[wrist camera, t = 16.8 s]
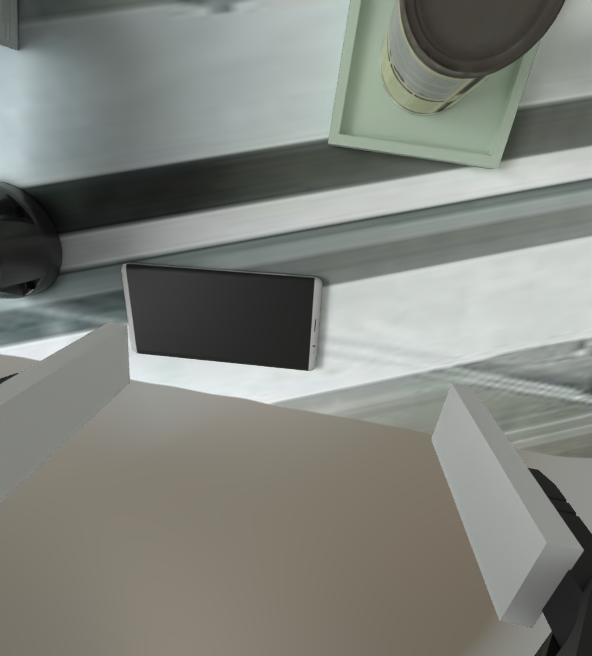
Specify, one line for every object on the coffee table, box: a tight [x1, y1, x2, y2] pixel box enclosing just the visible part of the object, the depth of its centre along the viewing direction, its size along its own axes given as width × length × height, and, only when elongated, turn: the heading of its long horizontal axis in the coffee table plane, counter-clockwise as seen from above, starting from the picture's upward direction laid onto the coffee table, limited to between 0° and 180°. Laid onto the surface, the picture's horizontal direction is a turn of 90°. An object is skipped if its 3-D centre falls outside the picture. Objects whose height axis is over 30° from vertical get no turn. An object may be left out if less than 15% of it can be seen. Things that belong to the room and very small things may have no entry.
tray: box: [328, 0, 540, 169], centre depth 34 cm, size 18×18×2 cm
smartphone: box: [121, 263, 322, 371], centre depth 48 cm, size 13×27×2 cm, turn 87°
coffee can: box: [379, 0, 565, 116], centre depth 28 cm, size 10×10×14 cm
